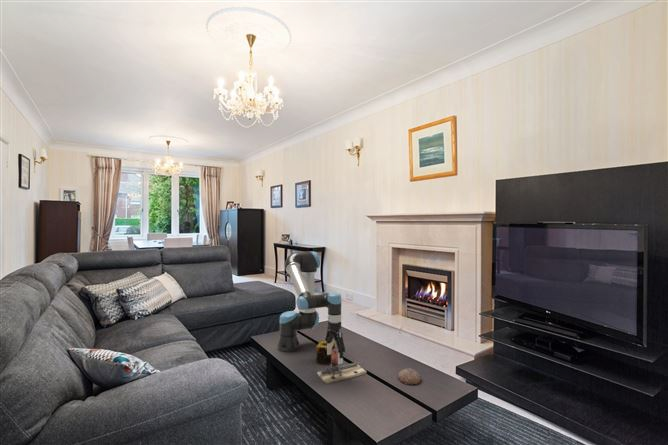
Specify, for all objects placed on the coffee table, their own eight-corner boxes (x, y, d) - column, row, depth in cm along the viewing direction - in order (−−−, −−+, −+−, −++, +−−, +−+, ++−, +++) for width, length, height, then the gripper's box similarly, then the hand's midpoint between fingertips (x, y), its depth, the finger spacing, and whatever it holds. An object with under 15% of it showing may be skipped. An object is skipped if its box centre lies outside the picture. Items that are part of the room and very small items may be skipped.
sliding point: (329, 369, 184) (329, 349, 183) (336, 367, 186) (336, 348, 185) (337, 377, 175) (337, 356, 174) (345, 375, 177) (344, 354, 176)
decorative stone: (412, 388, 166) (412, 377, 166) (393, 379, 175) (393, 369, 175) (424, 380, 175) (424, 370, 174) (406, 372, 183) (406, 363, 183)
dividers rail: (320, 373, 180) (320, 368, 180) (356, 364, 190) (356, 360, 190) (327, 380, 172) (327, 375, 172) (364, 371, 182) (364, 366, 182)
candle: (332, 364, 193) (332, 348, 193) (315, 363, 195) (315, 346, 195) (335, 357, 203) (335, 341, 203) (320, 356, 205) (319, 340, 205)
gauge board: (317, 374, 181) (317, 371, 181) (355, 365, 192) (355, 362, 192) (326, 383, 170) (326, 381, 170) (366, 373, 182) (366, 371, 182)
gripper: (319, 316, 192) (319, 352, 192) (339, 328, 170) (339, 369, 170) (330, 314, 195) (331, 349, 195) (351, 326, 173) (351, 366, 173)
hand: (334, 358), depth 183 cm, fingers open, 13 cm apart
